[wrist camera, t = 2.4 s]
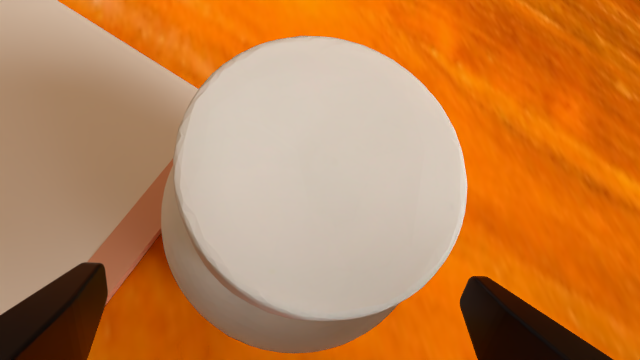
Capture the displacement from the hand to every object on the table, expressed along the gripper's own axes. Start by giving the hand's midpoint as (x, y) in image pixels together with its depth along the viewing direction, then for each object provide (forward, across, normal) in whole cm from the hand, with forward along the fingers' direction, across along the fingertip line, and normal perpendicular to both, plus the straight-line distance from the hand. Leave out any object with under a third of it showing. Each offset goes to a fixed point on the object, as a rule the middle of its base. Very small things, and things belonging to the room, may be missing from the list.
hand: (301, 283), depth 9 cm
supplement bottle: (+8, 0, +6) cm, 10 cm away
